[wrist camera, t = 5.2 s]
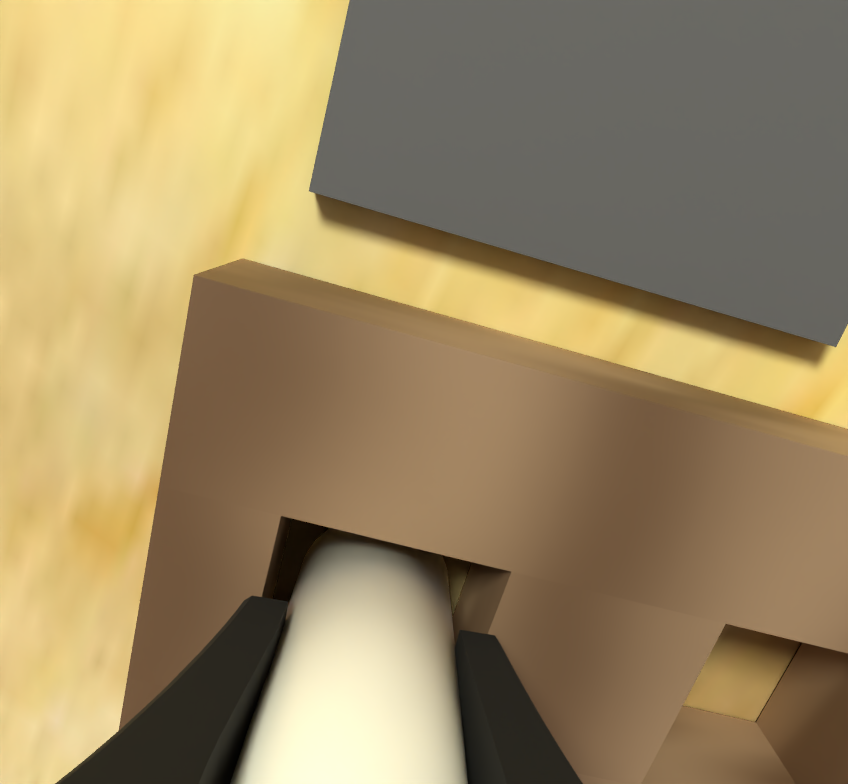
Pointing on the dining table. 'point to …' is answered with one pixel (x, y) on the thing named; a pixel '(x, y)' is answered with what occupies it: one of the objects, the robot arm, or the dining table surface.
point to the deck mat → (612, 141)
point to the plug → (361, 673)
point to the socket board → (512, 517)
